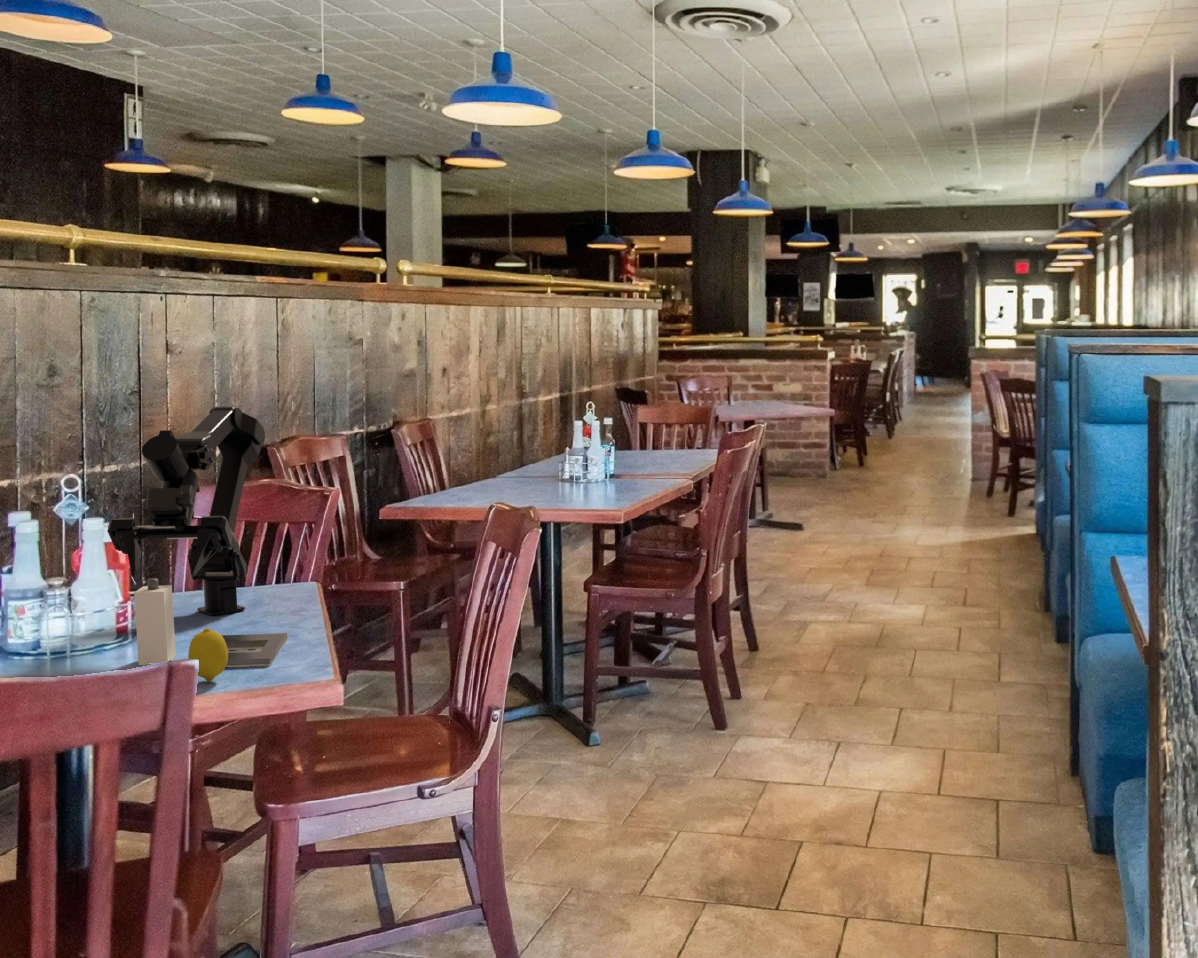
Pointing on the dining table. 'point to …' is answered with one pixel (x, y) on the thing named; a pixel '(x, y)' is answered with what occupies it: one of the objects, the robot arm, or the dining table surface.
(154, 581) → the beige carton with cap
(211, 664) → the lemon
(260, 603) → the dining table surface
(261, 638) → the socket plate
